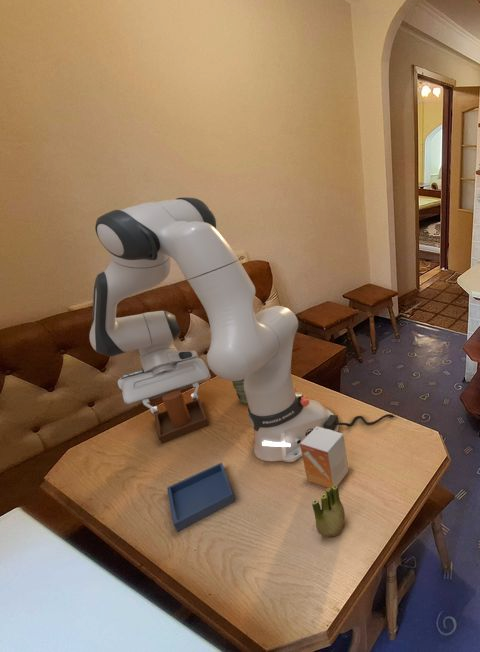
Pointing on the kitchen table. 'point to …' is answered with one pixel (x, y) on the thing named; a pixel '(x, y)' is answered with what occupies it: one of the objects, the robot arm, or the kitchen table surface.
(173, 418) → the spice tin
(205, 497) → the blue tray
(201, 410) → the walnut tray
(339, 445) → the small box
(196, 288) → the robot arm
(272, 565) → the kitchen table surface
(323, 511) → the fennel bulb
